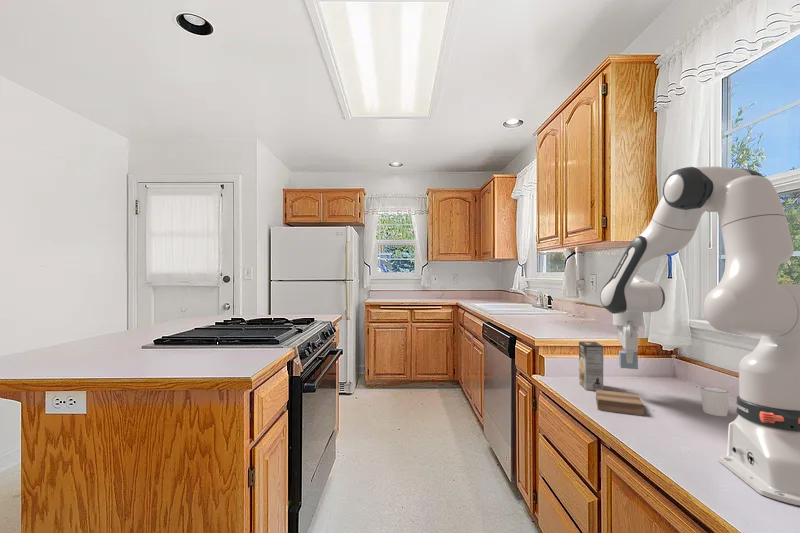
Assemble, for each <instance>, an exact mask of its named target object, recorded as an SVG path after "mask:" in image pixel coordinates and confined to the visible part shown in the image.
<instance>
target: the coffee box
mask: <svg viewBox="0 0 800 533" xmlns="http://www.w3.org/2000/svg"><path fill="white" fill-rule="evenodd" d="M578 367H579V368H578V374H579V376H578V378H579V379H578V380H579V381H578V382H579V385H581V387H582V388H583V389H584V390H585V391H596V390H604V345H603V344H600V343H599V342H597V341H578Z"/></svg>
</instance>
